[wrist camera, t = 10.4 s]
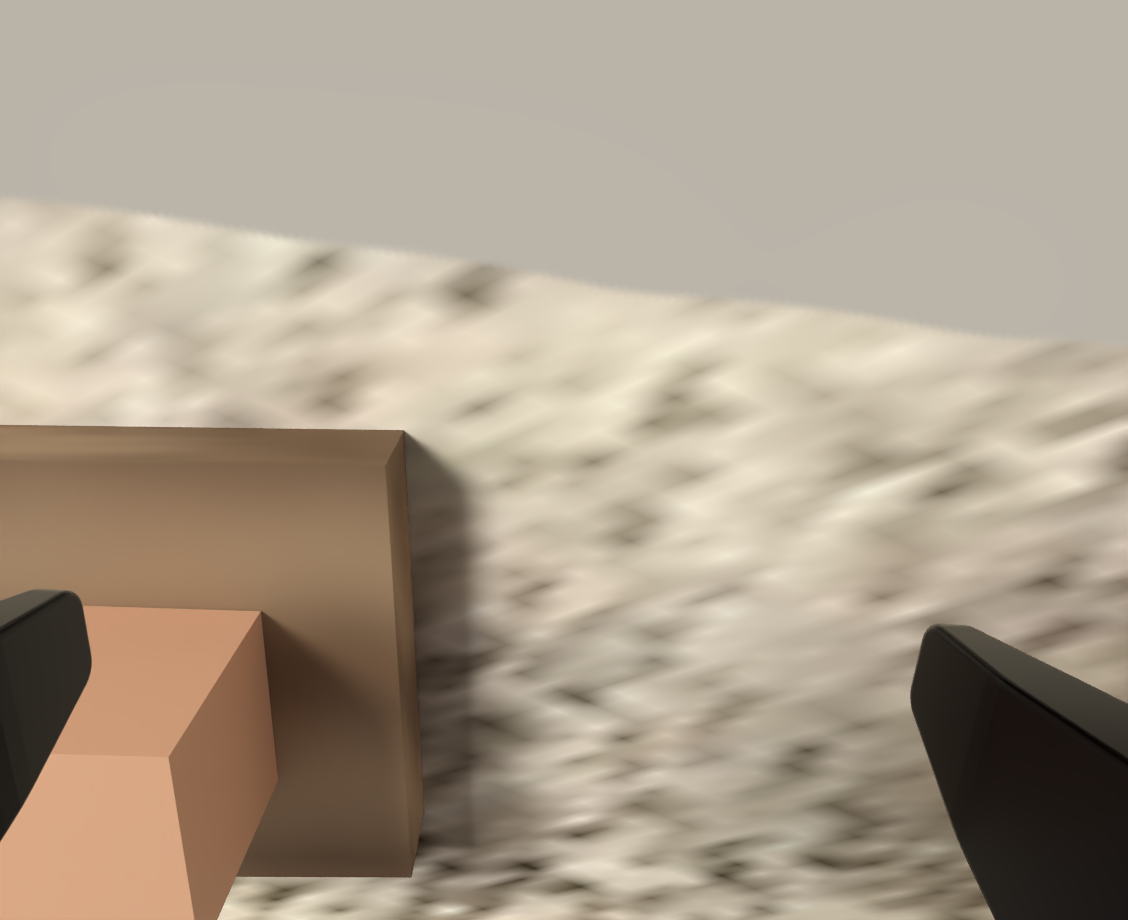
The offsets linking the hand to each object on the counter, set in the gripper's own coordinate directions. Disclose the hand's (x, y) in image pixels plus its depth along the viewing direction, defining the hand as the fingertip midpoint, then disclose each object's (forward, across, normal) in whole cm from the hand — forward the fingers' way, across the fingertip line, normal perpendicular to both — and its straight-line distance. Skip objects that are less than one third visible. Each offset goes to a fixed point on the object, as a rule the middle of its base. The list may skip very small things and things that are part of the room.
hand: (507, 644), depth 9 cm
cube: (+10, +9, +8) cm, 15 cm away
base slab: (+13, +9, +8) cm, 17 cm away
